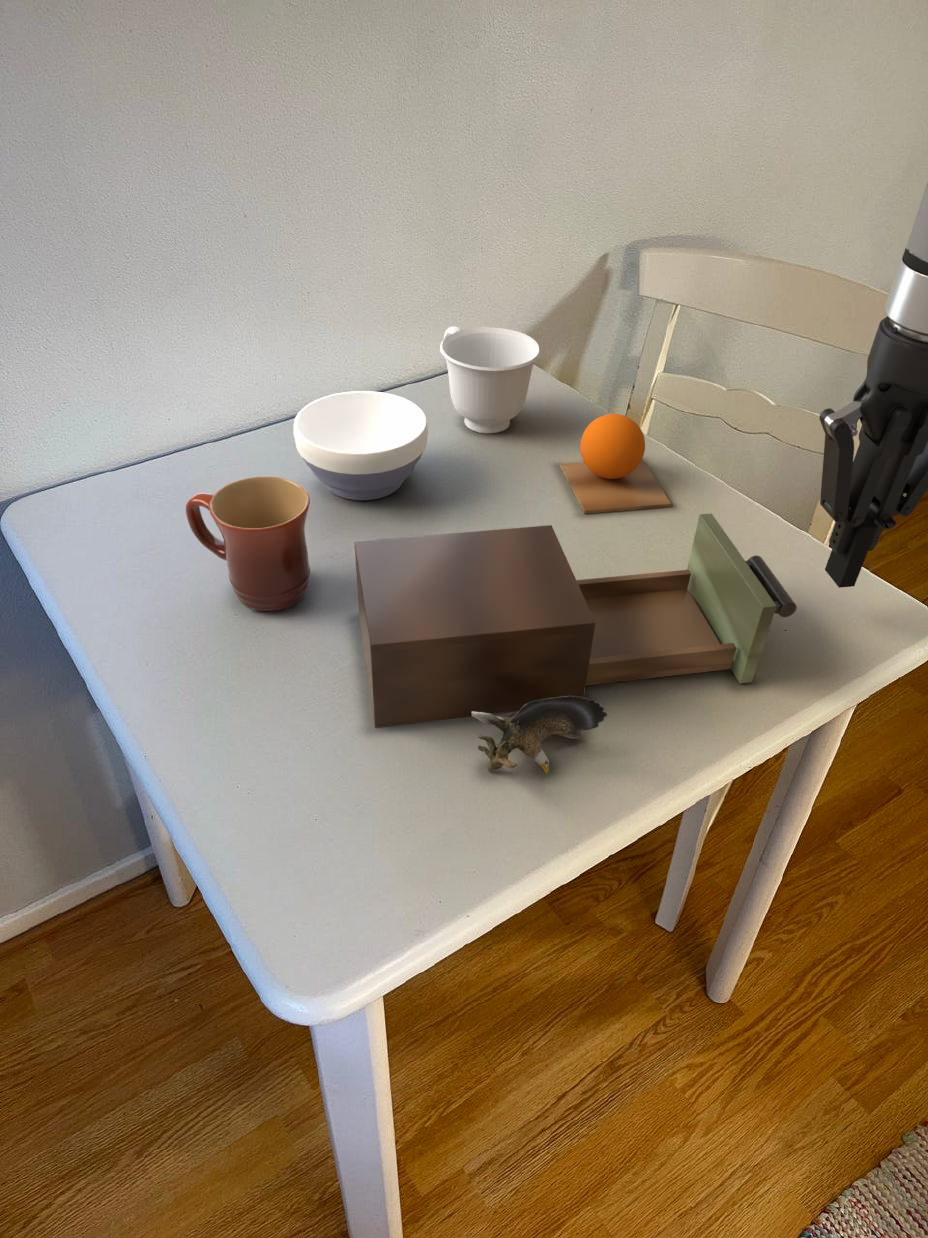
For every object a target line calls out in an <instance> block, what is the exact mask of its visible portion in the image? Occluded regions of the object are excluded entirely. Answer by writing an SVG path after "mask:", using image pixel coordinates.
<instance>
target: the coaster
mask: <svg viewBox="0 0 928 1238" xmlns="http://www.w3.org/2000/svg"><path fill="white" fill-rule="evenodd" d="M559 467H560V469H561V471H562V473H563V476H564V477H565V479H566V481H567V483H568V485H569V486H570V489H571V491H572V493H573V495H574V496H575V497H574V498H576V501H577V502H578V504H579V506H580V508H581V510H582V512H583V514H584V515H587V514H599V513H611V512H620V511H621V512H623V511H624V512H625V511H634V510H635V511H637V510H647V509H659V508H671V507H672V502H671V501H670V499H669V497H668V496H667V495H666V493H665V491H664V490H663V488H662V487H661V486H660V484H659V482H658V481H657V479H656V478H655V476H654V474H653V472H652V471H651V470H650V469H649V466H648V465H647V464H646V462H645V461H644V459H643V458H642V460H641V462H640V464H639V465H638V467H637V468H636V469H635V470H634V471H632V472H631V473H630V474H628V475H626V476H624V477H621V478H616V479H608V478H603V477H600V476H598V475H596V474H594V473H593V472H592V471H591V470H590V469H589V468H588V467H587V466H586V465H585V463H584V461H582V462H573V463H571V462H569V463H560V465H559Z"/></svg>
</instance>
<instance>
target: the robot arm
mask: <svg viewBox="0 0 928 1238" xmlns="http://www.w3.org/2000/svg"><path fill="white" fill-rule="evenodd" d="M923 191H924V192H923V194H922V197H921V200H920V202H919V205H918V209H917V212H916V215H915V219H914V221H913V225H912V228H911V230H910V233H909V236H908V240H907V243H906V246H905V249H904V252H903V254H902V257H901V259H900V262H899V265H898V268H897V270H896V273H895V276H894V279H893V282H892V284H891V287H890V291H889V292H888V295H887V296H888V297H887V298H886V302H885V304H884V307H883V309H884V314H885V315H886V316H885V317H884V318H882V319H881V320H880V321H879V324H878V327H877V330H876V333H875V335H874V339H873V341H872V345H871V347H870V350H869V353H868V356H867V362H866V376H865V379H864V380H863V382H862V384H861V385H860V386H859V387H858V389H857V390H856V391H855V393H854V395H853V399H852V402H850V403H848V404H847V405H845V406H844V407H842V408H840V409H839V410H837V411H835V410H834V409H833V408H828V407H827V408H826V409H825V408H824V409H823V410H822V411H821V412H820V414H819V422H820V424H821V426H822V429H823V432H824V447H823V460H822V473H821V475H822V476H821V484H820V485H821V487H820V498H819V504H820V506H821V507H822V508H823V509H824V511H825V512H826V513H827V514H828V515H829V516H830V518H831V519H832V520H833V521H834V522H835V523H834V525H833V528H832V531H831V533H830V535H829V539H828V544H829V546H830V548H831V551H830V554H829V557H828V560H827V562H826V564H825V568H824V571H825V572H826V573H827V575H828V576H829V577H830V578H831V580H832V581H833V582H834V584H835V585H836V586H837V587H838V588H839V589H841V588H852V587H855V585H856V583H857V580H858V578H859V575H860V573H861V570H862V568H863V565H864V563H865V561H866V558H867V556H868V553H869V552H872V551H874V549H876V547H877V545H878V543H879V540H880V538H881V535H882V532H883V531H884V529H885V530H892V529H893V528H894V527H895V526H896V525H897V521H896V520H895V519H893V517H896V516H899V515H900V516H902V517H907V516H908V517H909V515H911V514H912V513H913V512H914V511H915V509H916V507H918V504H919V503H921V500H922V499H923V497H924V495H926V494H927V491H928V181H927V182H926V185H925V187H924V190H923ZM859 421H860V424H861V427H860V430H859V431H858V429H857V428H858V422H859ZM857 435H858V442H859V443H858V446H857V450H856V453H855V440H854V437H856V436H857ZM905 494H906V495H905Z"/></svg>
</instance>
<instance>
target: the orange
mask: <svg viewBox="0 0 928 1238" xmlns="http://www.w3.org/2000/svg"><path fill="white" fill-rule="evenodd" d="M645 452H646V439H645V436H644V433H643V430H642V428H641V427H640V426H639V424H638V423H637V422H636V421H635V420H633V419H632V418H631V417H629V416H627V415H624V414H620V413H608V414H604V415H601V416H599V417H597V418H596V419H594V420H593V421H591V422H590V423H589V425H587V427H586V428H585V430H584V431H583V434H582V436H581V439H580V454H581V458H582V462H584V463H585V465H586V466H587V467H588V468H589V469H590V470H591V471H592V472H593V473H594V474H596V475H598V476H600V477H603V478H608V479H616V478H621V477H624V476H626V475H628V474H630V473H631V472H632V471H634V470H635V469H636V468H637V467H638V465H639V464H640V462H641V460H642V459H643V458H644V455H645Z"/></svg>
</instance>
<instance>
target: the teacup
mask: <svg viewBox="0 0 928 1238" xmlns="http://www.w3.org/2000/svg"><path fill="white" fill-rule="evenodd" d="M439 351H440V353H441V355H442V357H444V358H445V361H446V367H447V376H448V383H449V392H450V398H451V403H452V406H453V408H454V409H455V411H456V412H457V413H458V414H459V415H460V416H462V417H463V418H464V421H463V422H464V425H465V426H466V428H468V429H469V430H470V431H472V432H476V433H480V434H497V433H501V432H503V431H505V430H507V429H508V428H509V427H510V423H511V421H510V420H512V419H514V418H515V417H516V416H518V414H519V413H520V412H521V411H522V410H523V408H524V406H525V403H526V399H527V396H528V391H529V387H530V383H531V382H530V381H531V375H532V371H533V367H534V364H535V362H536V361H537V360H538V359H539V358H540V357H541V354H542V349H541V347H540V345H539V343H538V342H537V341H536V340H535V339H534V338H533V337H531V336H529V335H528V334H525V333H524V332H520V331H517V330H513V329H509V328H503V327H491V326H490V327H489V326H483V327H482V326H481V327H480V326H479V327H470V328H465V329H462V328H460V327H458V326H454V325H453V326H449V327H448V328H446V330H445V332H444V335H443V340H442V341H441V343H440V346H439Z"/></svg>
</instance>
